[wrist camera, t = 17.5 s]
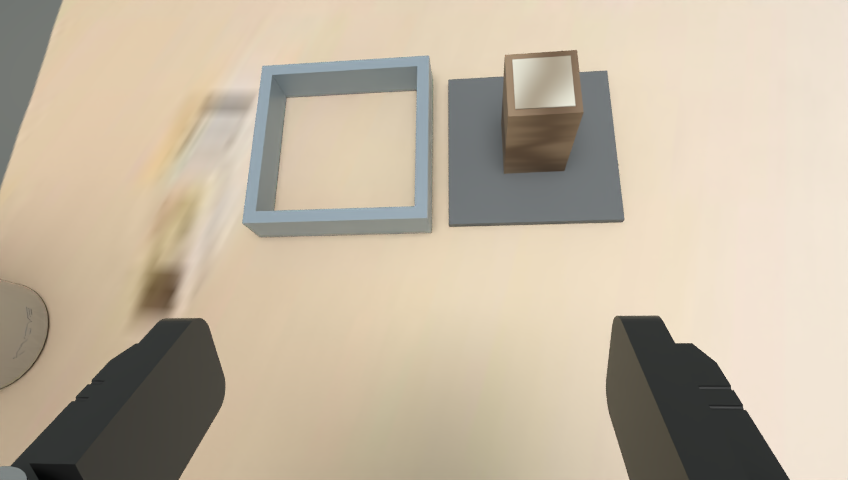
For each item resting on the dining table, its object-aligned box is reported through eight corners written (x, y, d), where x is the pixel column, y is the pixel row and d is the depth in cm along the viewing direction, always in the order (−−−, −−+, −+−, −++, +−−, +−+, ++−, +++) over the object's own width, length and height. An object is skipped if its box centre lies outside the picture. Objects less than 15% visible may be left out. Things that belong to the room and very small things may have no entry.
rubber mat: (449, 226, 44) (449, 224, 43) (448, 83, 48) (448, 79, 47) (622, 221, 42) (624, 219, 42) (605, 74, 46) (607, 70, 46)
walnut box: (503, 173, 44) (508, 115, 35) (501, 121, 46) (505, 54, 37) (564, 171, 43) (583, 111, 35) (559, 118, 45) (577, 49, 36)
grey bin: (260, 237, 45) (242, 223, 42) (277, 89, 50) (262, 66, 47) (431, 232, 44) (427, 217, 40) (432, 79, 48) (428, 55, 45)
